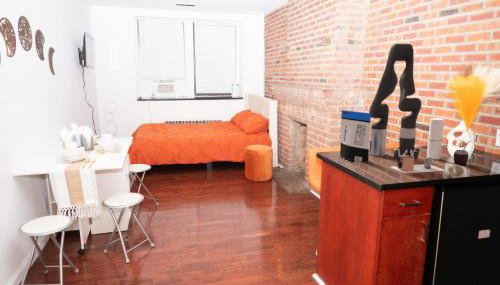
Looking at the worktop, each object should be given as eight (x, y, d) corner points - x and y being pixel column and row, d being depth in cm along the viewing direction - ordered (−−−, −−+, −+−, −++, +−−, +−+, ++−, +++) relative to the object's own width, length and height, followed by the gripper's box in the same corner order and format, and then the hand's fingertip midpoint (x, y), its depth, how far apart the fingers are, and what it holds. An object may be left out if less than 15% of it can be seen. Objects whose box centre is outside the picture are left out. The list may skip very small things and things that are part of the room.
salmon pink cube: (403, 171, 169) (404, 158, 168) (397, 168, 174) (398, 155, 173) (413, 170, 170) (414, 157, 168) (406, 167, 175) (407, 155, 174)
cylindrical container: (425, 160, 195) (428, 119, 190) (428, 158, 200) (431, 118, 195) (438, 162, 190) (442, 120, 185) (441, 159, 195) (445, 118, 190)
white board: (403, 176, 165) (403, 173, 165) (389, 169, 178) (389, 166, 178) (445, 173, 169) (446, 170, 169) (428, 166, 181) (429, 164, 181)
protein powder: (362, 165, 186) (364, 114, 181) (334, 157, 208) (335, 110, 202) (374, 163, 190) (377, 112, 184) (345, 155, 212) (347, 109, 206)
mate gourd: (453, 162, 190) (456, 137, 187) (469, 164, 185) (472, 138, 182) (451, 165, 184) (454, 139, 181) (468, 167, 179) (471, 140, 176)
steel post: (426, 168, 172) (427, 158, 171) (422, 167, 175) (423, 157, 174) (432, 168, 173) (433, 158, 172) (427, 166, 176) (428, 157, 175)
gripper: (415, 134, 173) (413, 165, 177) (390, 135, 171) (388, 166, 175) (424, 137, 166) (422, 168, 169) (399, 138, 164) (396, 170, 167)
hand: (405, 167), depth 172 cm, fingers closed on salmon pink cube, 5 cm apart
